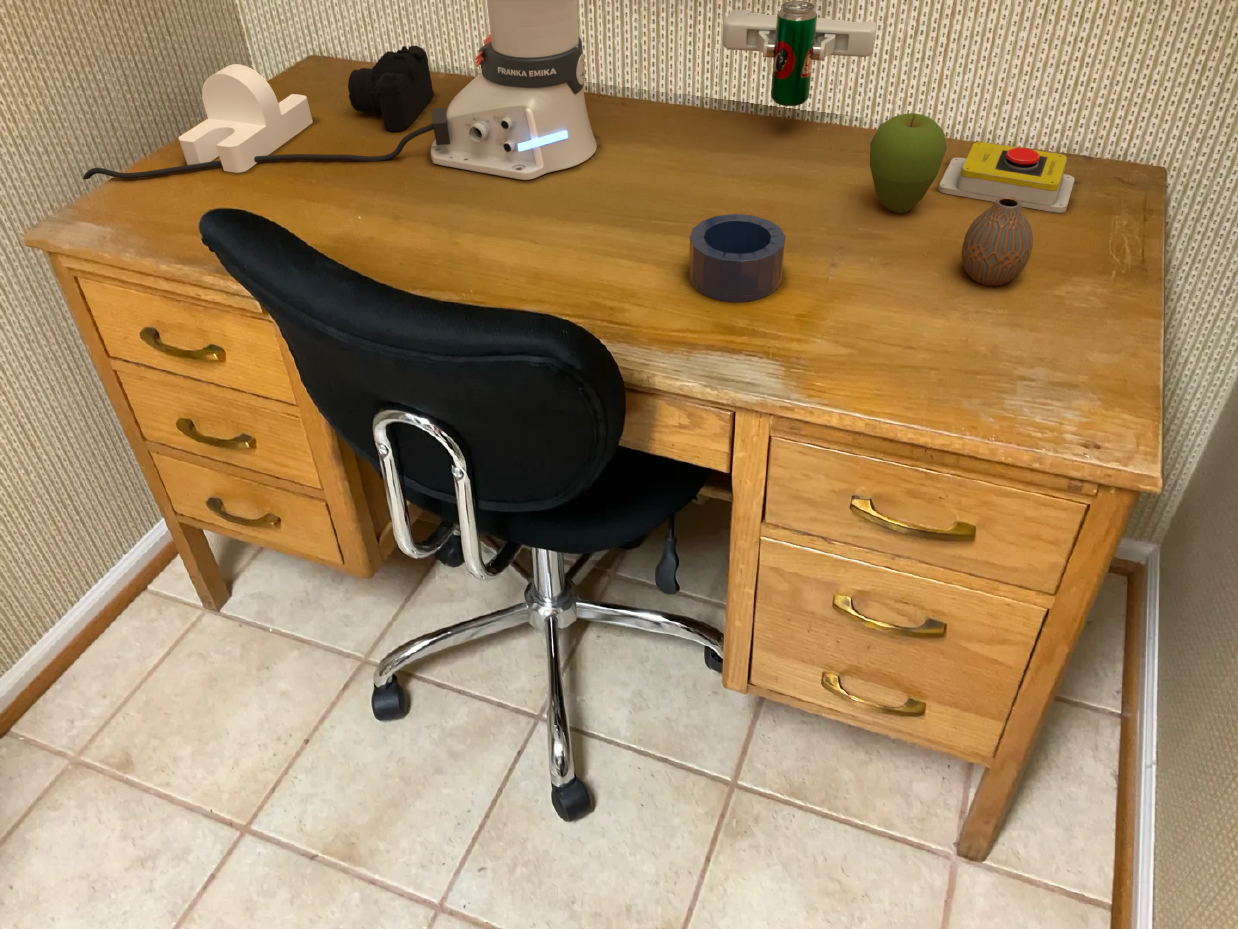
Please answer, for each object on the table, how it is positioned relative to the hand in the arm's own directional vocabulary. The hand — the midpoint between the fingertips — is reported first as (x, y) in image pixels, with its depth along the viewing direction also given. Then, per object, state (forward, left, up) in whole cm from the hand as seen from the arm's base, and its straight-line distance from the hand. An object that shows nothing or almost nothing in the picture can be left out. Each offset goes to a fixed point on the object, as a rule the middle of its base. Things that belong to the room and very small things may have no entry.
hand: (793, 52), depth 125 cm
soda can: (0, +1, -7) cm, 7 cm away
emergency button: (+28, -10, -12) cm, 32 cm away
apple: (+15, -18, -12) cm, 26 cm away
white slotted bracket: (-74, -13, -12) cm, 76 cm away
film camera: (-58, 0, -12) cm, 59 cm away
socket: (-2, -37, -11) cm, 39 cm away
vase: (+25, -32, -12) cm, 42 cm away
